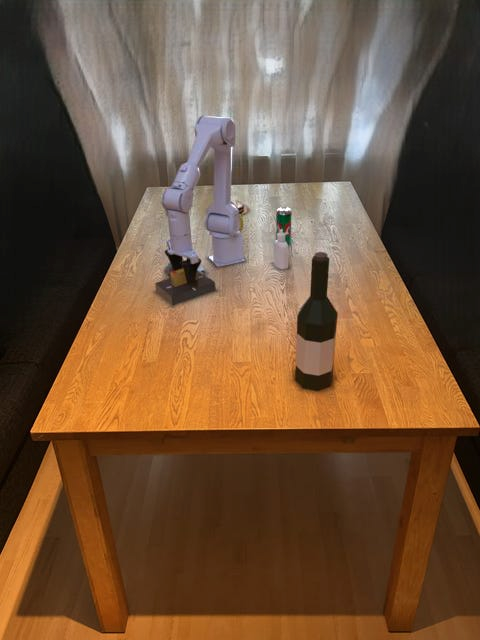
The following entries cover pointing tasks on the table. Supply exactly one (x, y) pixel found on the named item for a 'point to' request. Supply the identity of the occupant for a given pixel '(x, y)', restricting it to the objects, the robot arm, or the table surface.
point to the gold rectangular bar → (179, 277)
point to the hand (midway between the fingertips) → (184, 277)
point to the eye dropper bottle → (281, 251)
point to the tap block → (185, 289)
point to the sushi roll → (239, 206)
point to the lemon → (241, 222)
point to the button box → (169, 268)
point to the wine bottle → (316, 331)
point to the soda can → (284, 222)
